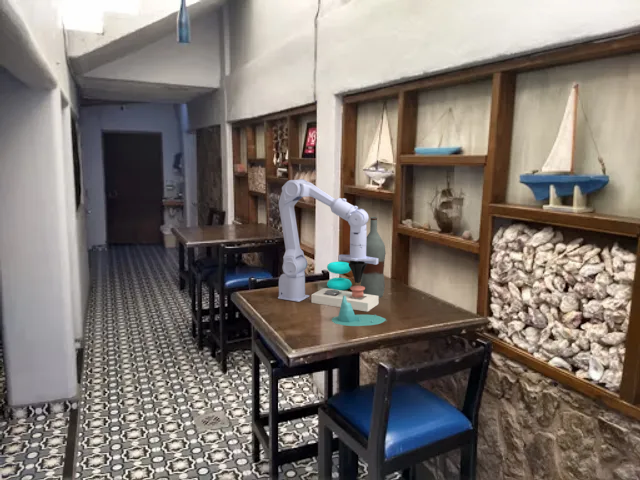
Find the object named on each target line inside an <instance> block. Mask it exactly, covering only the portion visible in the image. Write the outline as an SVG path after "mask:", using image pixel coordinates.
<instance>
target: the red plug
mask: <svg viewBox="0 0 640 480" xmlns="http://www.w3.org/2000/svg"><path fill="white" fill-rule="evenodd" d="M349 289H350V290H351V292H352V297H356V298H360V297H363V290H365V287H364V286H361V285H352V286H351V287H350V288H349Z"/></svg>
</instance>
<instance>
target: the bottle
mask: <svg viewBox="0 0 640 480" xmlns="http://www.w3.org/2000/svg"><path fill="white" fill-rule="evenodd" d="M369 225H370V227H369V233H368V234H367V240H366V256H368V257H373V258H378V264H377V265H374V264H369V263H367V265H366V267H365V269H364V271H363V274H362V278H361V282H360V286H364V287H365V290H363V294H369V295H376V296H379V299H381V298H383V296H384V293H385V287H386V284H385V274H384V270H385V261H386V245H385V242H384V241H383V239H382V237H381V235H380V234H379V232H378V217H377V216H371V217H370V224H369Z"/></svg>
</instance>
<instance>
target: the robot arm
mask: <svg viewBox="0 0 640 480" xmlns="http://www.w3.org/2000/svg"><path fill="white" fill-rule="evenodd" d="M304 197H306V198H307V197H311V198H314V199H315V200H317V201H319V202H320V203H322V204H324V205H326V206H328V207H329V209H330V211H331V212H332V213H333V214H334V215H336V216H338V217H339V218H341V219H343V220H344V221H346V222H348V225H349V227H350V228H349V229H350V231H349V254H338V256H337V257H338V259H337V262H348V263H349V267H350V269H351V271H350V272H352V276H353V280H354V283H355V284H361V278H362V274H363V271H364V269H365V267H366V265H367V263H369V264H374V265H377V264H378V258H373V257H368V256H366V240H367V236H368V234H367V223H368V222H369V219H370V218H369V214H368V212H367V211H366V210H365V209H364V208H359V206H357V205H353V204H351V203H349V202H348V201H347V198H341V197H338V198H334V197H333V196H332V195H330V194H328V193H327V192H325V191H324V190H322V188H321V189H320V188H319V187H318V186H316V185H315V184H314V183H312V182H310V181H307V180H306V179H304V178H299V179H290V180H287V181H286V182H285V183H284V184H283V186H281V194H280V197H279V200H278V209H279V210H278V211H279V215H280V223H281V227H282V228H281V229H282V233H283V241H284V248H285V252H284V255H283V257H282V258H283V264H282V271H283V273H282V274H280V276H279V278H278V297H277V299H279V300H285V301H292V302H298V303H300V302H302V301H303V300H306V299H308V298H309V297H310V295H309V294H306V273H305V270H306V269H307V267H308V263H309V262H308V260H307V259H306V256H305V254H304V250H302V249H301V245H300V237H299V231H298V225H297V218H296V211H295V205H296V204H297V203H298V202H299V200H301V199H303V198H304ZM310 298H311V297H310Z"/></svg>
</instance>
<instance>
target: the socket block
mask: <svg viewBox="0 0 640 480" xmlns="http://www.w3.org/2000/svg"><path fill="white" fill-rule="evenodd" d="M327 290H335V289H330V288H329V287H323V288H321V289H320V290H318V291H316V292H314V293H312V294H311V297H310V298H311V303H312V304H317V305H318V304H319V305H324V306H331V307H337V308H340V307H341V303H342V299H343V296H344V295H345V296H346V300H347V302H348V303H351V306H352V308H353V311H360V312H361V311H362V312H366V313H368V312H370V311H371V310H372V309H373V308H375V307H376V306H378V305H379V304H380V303H379V302H380V301H379V299H380V298H379V296H376V295H369V294H363V297H360V298H356V297H352V291H348V290H338V291H340V294H338V295H337V296H331V295H327V294H326V293H325V291H327Z"/></svg>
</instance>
